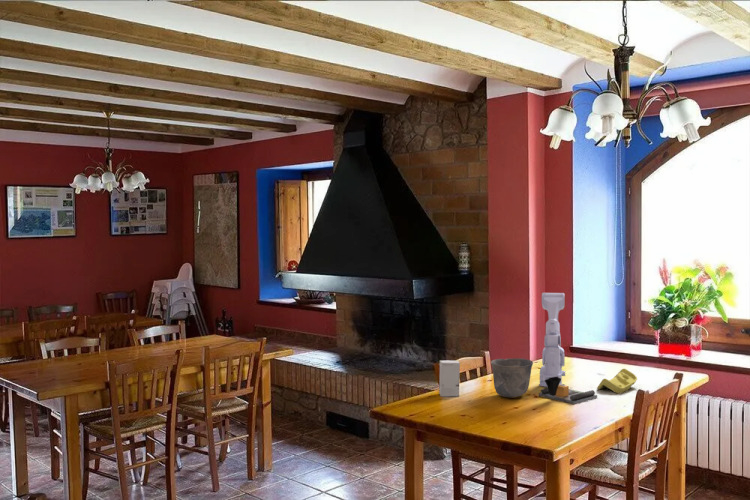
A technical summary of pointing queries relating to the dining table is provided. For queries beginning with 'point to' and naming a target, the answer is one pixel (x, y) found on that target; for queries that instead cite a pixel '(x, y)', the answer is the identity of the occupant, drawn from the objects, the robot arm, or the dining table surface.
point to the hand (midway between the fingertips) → (552, 395)
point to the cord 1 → (546, 390)
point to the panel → (568, 397)
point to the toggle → (562, 390)
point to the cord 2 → (582, 395)
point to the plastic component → (619, 381)
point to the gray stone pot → (511, 376)
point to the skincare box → (449, 378)
